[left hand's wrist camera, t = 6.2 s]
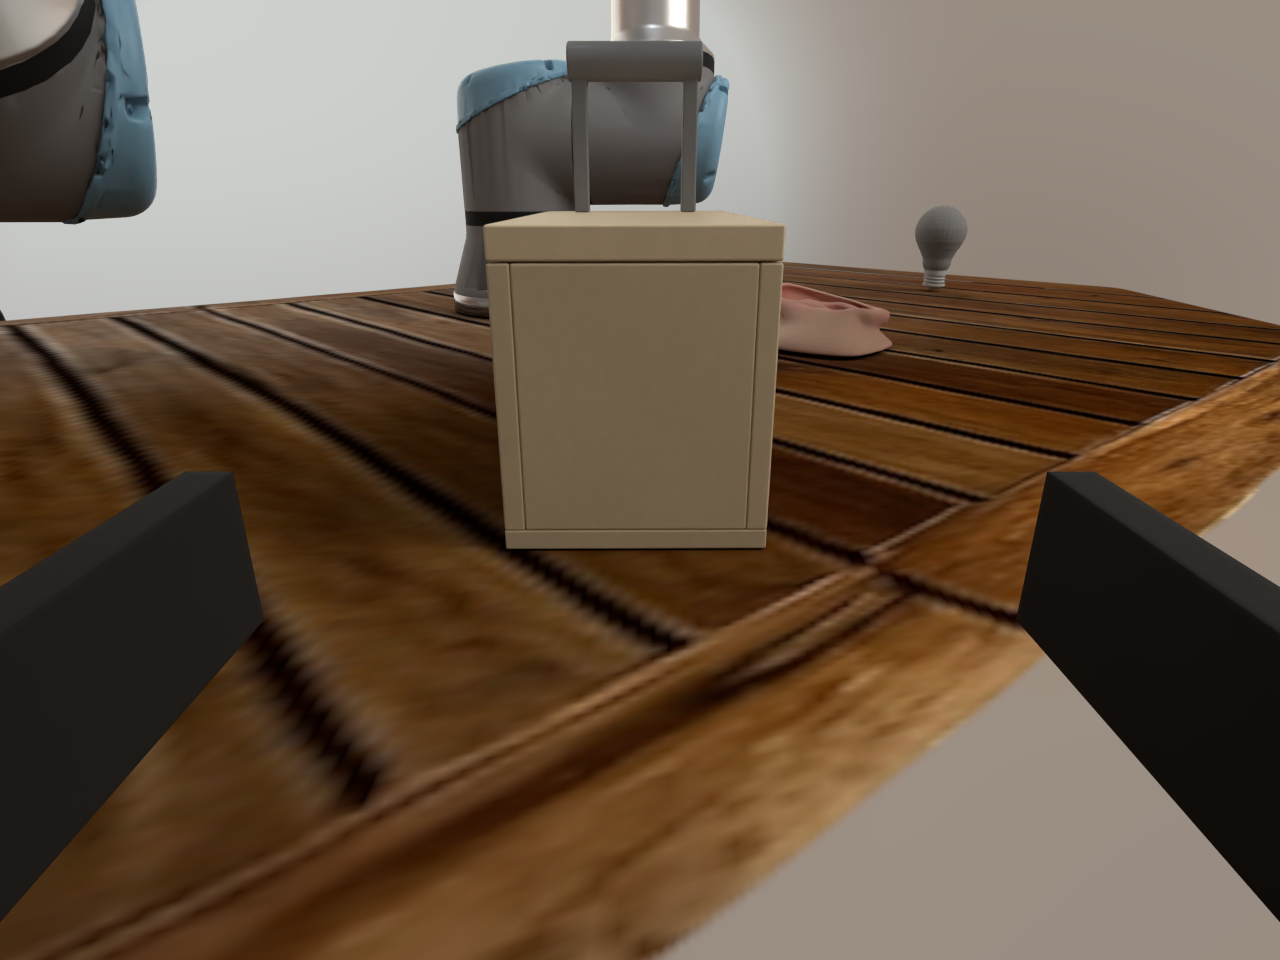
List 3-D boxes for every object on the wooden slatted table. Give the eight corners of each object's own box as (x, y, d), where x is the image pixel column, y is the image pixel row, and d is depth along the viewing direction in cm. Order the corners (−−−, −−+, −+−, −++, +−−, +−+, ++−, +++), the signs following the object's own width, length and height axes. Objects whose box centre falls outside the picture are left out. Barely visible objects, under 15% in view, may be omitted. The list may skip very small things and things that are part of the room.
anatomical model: (896, 305, 54) (738, 299, 58) (889, 360, 55) (736, 350, 59) (899, 285, 66) (768, 280, 69) (894, 331, 67) (766, 324, 71)
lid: (547, 233, 40) (539, 50, 37) (722, 232, 40) (729, 50, 37) (485, 262, 23) (461, -65, 20) (783, 261, 23) (805, -66, 20)
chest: (553, 418, 42) (545, 235, 39) (718, 417, 42) (724, 234, 39) (506, 549, 27) (485, 263, 23) (765, 548, 27) (783, 262, 23)
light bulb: (916, 292, 93) (927, 206, 89) (902, 286, 98) (912, 205, 95) (965, 292, 93) (978, 205, 89) (949, 286, 98) (960, 205, 95)
